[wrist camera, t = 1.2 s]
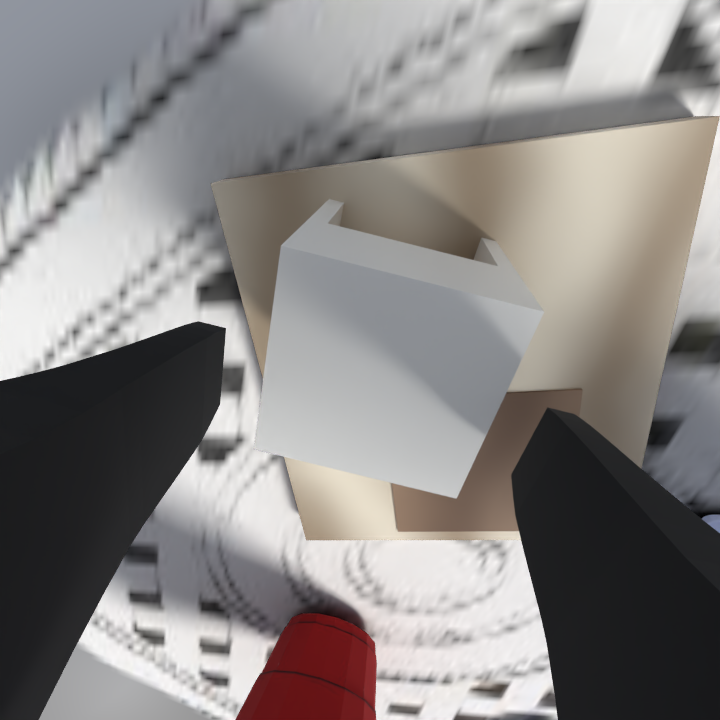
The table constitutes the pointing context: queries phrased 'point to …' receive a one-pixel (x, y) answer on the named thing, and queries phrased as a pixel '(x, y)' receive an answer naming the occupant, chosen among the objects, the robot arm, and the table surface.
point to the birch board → (536, 268)
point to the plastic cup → (316, 673)
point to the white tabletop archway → (389, 354)
